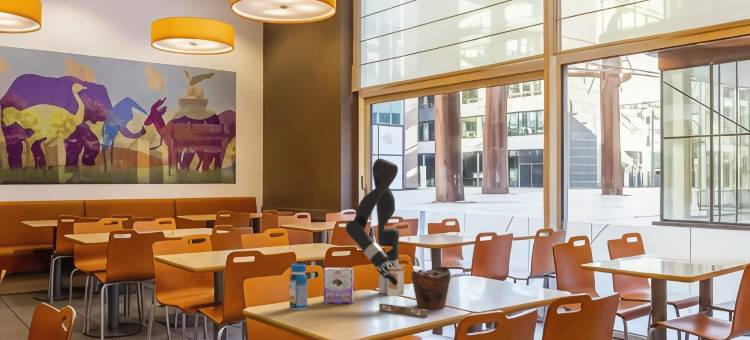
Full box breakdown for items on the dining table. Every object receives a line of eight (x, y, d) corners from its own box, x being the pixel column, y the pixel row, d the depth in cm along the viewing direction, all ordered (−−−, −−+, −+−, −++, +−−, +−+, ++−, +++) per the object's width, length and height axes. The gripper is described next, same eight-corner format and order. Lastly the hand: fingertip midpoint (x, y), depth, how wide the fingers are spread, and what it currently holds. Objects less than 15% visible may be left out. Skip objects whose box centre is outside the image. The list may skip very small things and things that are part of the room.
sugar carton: (387, 295, 292) (387, 268, 292) (392, 293, 297) (393, 267, 297) (398, 296, 289) (398, 269, 290) (403, 294, 294) (404, 267, 295)
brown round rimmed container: (403, 308, 294) (404, 268, 294) (421, 300, 312) (421, 263, 312) (439, 312, 286) (440, 272, 286) (455, 305, 304) (456, 267, 304)
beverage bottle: (304, 310, 289) (304, 266, 289) (286, 310, 291) (286, 265, 291) (310, 307, 297) (310, 263, 298) (292, 306, 299) (292, 263, 299)
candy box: (353, 301, 310) (353, 267, 310) (352, 304, 304) (352, 269, 304) (325, 301, 311) (325, 266, 311) (323, 303, 305) (323, 268, 306)
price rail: (379, 310, 290) (379, 304, 290) (380, 310, 291) (380, 303, 291) (425, 317, 276) (425, 310, 276) (427, 316, 277) (427, 309, 277)
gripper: (373, 251, 291) (397, 279, 285) (388, 248, 303) (411, 275, 298) (363, 262, 293) (386, 290, 287) (378, 258, 306) (401, 286, 300)
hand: (399, 282), depth 293 cm, fingers closed on sugar carton, 5 cm apart
